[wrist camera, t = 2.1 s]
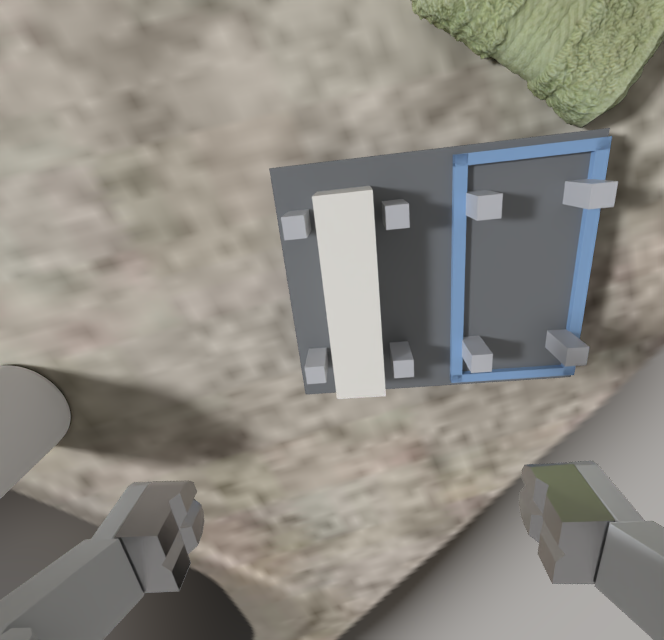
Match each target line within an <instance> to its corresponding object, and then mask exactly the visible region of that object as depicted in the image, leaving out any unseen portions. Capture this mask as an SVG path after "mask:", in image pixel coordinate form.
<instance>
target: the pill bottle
mask: <svg viewBox="0 0 664 640" xmlns="http://www.w3.org/2000/svg"><path fill="white" fill-rule="evenodd" d="M70 420H71V414H70V409H69V406H68V403H67V401H66V399H65V397H64V396H63V394H62V393H61V392H60V390H59V389H58V388H57V387H56V386H55V385H54V384H53V383H52V382H50V381H49V380H48V379H46V378H45V377H43V376H42V375H40V374H38V373H36V372H34V371H32V370H29V369H26V368H23V367H19V366H11V365H4V366H0V498H1V497H3V496H4V495H5V494H6V493H7V492H8V491H9V490H10V489H11V488H12V487H13V486H14V485H15V484H16V483H17V482H18V481H19V480H20V479H21V478H22V477H23V476H24V475H25V474H26V473H27V472H28V471H30V470H31V469H32V468H33V467H34V466H35V465H36V464H37V463H38V462H39V461H40V460H41V459H42V458H43V457H44V456H45V455H46V454H47V453H48V452H49V451H50V450H51V449H52V448H53V447H54V446H56V445H57V444H58V443H59V441H60V440H61V439H62V438H63V437H64V435H65V434H66V432H67V431H68V428H69V425H70Z"/></svg>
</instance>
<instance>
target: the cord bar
mask: <svg viewBox="0 0 664 640" xmlns="http://www.w3.org/2000/svg"><path fill="white" fill-rule="evenodd" d="M312 202H313V210H314V218H315V226H316V234H317V242H318V250H319V258H320V266H321V274H322V282H323V290H324V298H325V306H326V314H327V322H328V330H329V338H330V346H331V354H332V363H333V371H334V379H335V387H336V395H337V399H346V398H362V397H377V396H386V390H385V374H384V359H383V343H382V328H381V312H380V297H379V281H378V266H377V250H376V235H375V219H374V204H373V190H372V188H371V187H370V186H363V187H354V188H345V189H336V190H327V191H319V192H316V193H315V194H314V195H313V196H312Z"/></svg>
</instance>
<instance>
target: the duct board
mask: <svg viewBox="0 0 664 640" xmlns="http://www.w3.org/2000/svg"><path fill="white" fill-rule="evenodd" d="M609 129H610V128H606V129H597V130H589V131H580V132H572V133H564V134H555V135H547V136H538V137H530V138H522V139H513V140H505V141H496V142H488V143H480V144H471V145H463V146H454V147H446V148H438V149H429V150H421V151H412V152H404V153H396V154H387V155H379V156H370V157H362V158H354V159H345V160H337V161H328V162H320V163H312V164H303V165H295V166H286V167H278V168H270V169H269V170H270V176H271V182H272V188H273V195H274V201H275V207H276V213H277V219H278V226H279V232H280V238H281V244H282V250H283V256H284V263H285V269H286V275H287V281H288V287H289V294H290V300H291V306H292V312H293V318H294V325H295V331H296V337H297V343H298V349H299V356H300V362H301V368H302V374H303V380H304V387H305V393H306V394H319V393H334V392H336V387H335V379H334V371H333V363H332V354H331V346H330V338H329V330H328V322H327V314H326V306H325V298H324V290H323V282H322V274H321V266H320V258H319V250H318V242H317V234H316V226H315V218H314V210H313V202H312V196H313V195H314V194H315V193H316V192H319V191H327V190H336V189H345V188H354V187H363V186H370V187H371V188H372V190H373V204H374V219H375V235H376V250H377V266H378V281H379V297H380V312H381V328H382V343H383V359H384V374H385V389H395V388H410V387H425V386H440V385H455V384H470V383H485V382H500V381H516V380H531V379H546V378H561V377H571V375H574V372H575V366H581V365H587V359H588V354H589V348H590V347H589V346H588V345H587V344H585V343H584V342H583V341H581V340H580V334H581V328H582V322H583V316H584V309H585V303H586V297H587V291H588V284H589V278H590V272H591V266H592V259H593V253H594V247H595V241H596V234H597V228H598V222H599V216H600V209H601V208H607V207H614V203H615V197H616V191H617V186H618V181H610V180H605V178H606V172H607V166H608V159H609V153H610V147H611V140H612V136H609V137H608V135H609Z"/></svg>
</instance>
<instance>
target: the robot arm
mask: <svg viewBox="0 0 664 640" xmlns="http://www.w3.org/2000/svg"><path fill="white" fill-rule="evenodd" d="M521 478H522V480H523V482H524V484H525V487H524V488H523V489H522V490H521V491H520V494H519V506H520V512H521V516H522V519H523V522H524V525H525V528H526V530H527V532H528V534H529V535H530V536H531V537H532V538H534V539H535V540H536V541H537V542H539V548H538V555H539V557H540V559H541V561H542V563H543V566H544V567H545V570H546V572H547V574H548V576H549V578H550V580H551V582H552V584H595V587H596V588H597V589H598V590H599V591H600V592H602V593H603V594H604V595H605V596H606V597H607V598H608V599H609V600H610V601H612V602H613V603H614V604H615V605H616V606H617V607H618V608H619V609H620V610H622V611H623V612H624V613H625V614H626V615H627V616H628V617H629V618H630V619H631V620H632V621H634V622H635V623H636V624H637V625H638V626H639V627H640V628H641V629H642V630H643V631H645V632H646V633H647V634H648V635H649V636H650V637H651V638H652V639H653V640H664V527H662V526H661V525H659V524H657V523H656V522H654V521H645V520H644V519H643V518H642V517H641V515H640V514H639V513H638V512H637V511H636V509H635V508H634V507H633V506H632V505H631V504H630V502H629V501H628V500H627V499H626V497H625V496H624V495H623V494H622V493H621V491H620V490H619V489H618V488H617V487H616V485H615V484H614V483H613V482H612V481H611V479H610V478H609V477H608V476H607V475H606V473H605V472H604V471H603V470H602V469H601V467H600V466H599V465H598V464H597V463H595V462H594V461H580V462H569V463H567V462H565V463H547V464H528V465H524V467H523V468H522V474H521ZM196 493H197V490H196V487H195V485H194V482H192V481H153V482H134V483H132V484H131V485H129V486H128V487H127V489H126V490H125V491H124V493H123V494H122V496H121V497H120V499H119V500H118V501H117V503H116V504H115V506H114V507H113V509H112V510H111V511H110V513H109V514H108V516H107V517H106V519H105V520H104V521H103V523H102V524H101V526H100V527H99V529H98V530H97V531H96V533H95V534H94V536H93V537H92V539H88V540H84V541H82V542H81V543H80V544H78V545H77V546H75V547H74V548H73V549H71V550H70V551H68V552H67V553H66V554H64V555H63V556H61V557H60V558H59V559H57V560H56V561H55V562H53V563H52V564H50V565H49V566H47V567H46V568H45V569H43V570H42V571H40V572H39V573H38V574H36V575H35V576H33V577H32V578H31V579H29V580H28V581H26V582H25V583H24V584H22V585H21V586H19V587H18V588H17V589H15V590H14V591H12V592H11V593H10V594H8V595H7V596H6V597H4V598H3V599H1V600H0V640H103V639H104V638H105V637H106V636H107V635H108V634H109V633H110V632H111V631H112V630H113V629H114V628H115V626H116V625H117V624H118V623H119V622H120V621H121V620H122V619H123V618H124V617H125V616H126V615H127V613H128V612H129V611H130V610H131V609H132V608H133V607H134V606H135V605H136V604H137V603H138V602H139V600H140V599H141V598H142V597H143V596H144V593H153V592H171V591H180V588H181V586H182V583H183V581H184V578H185V576H186V573H187V571H188V569H189V566H190V564H191V562H190V558H189V555H188V554H189V553H190V552H191V551H192V550H193V549H194V548H196V547H197V546H198V544H199V541H200V539H201V536H202V532H203V526H204V512H203V509H202V505H201V504H200V503H199V502H197V501H196V500H195V499H194V497H195V495H196Z"/></svg>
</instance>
